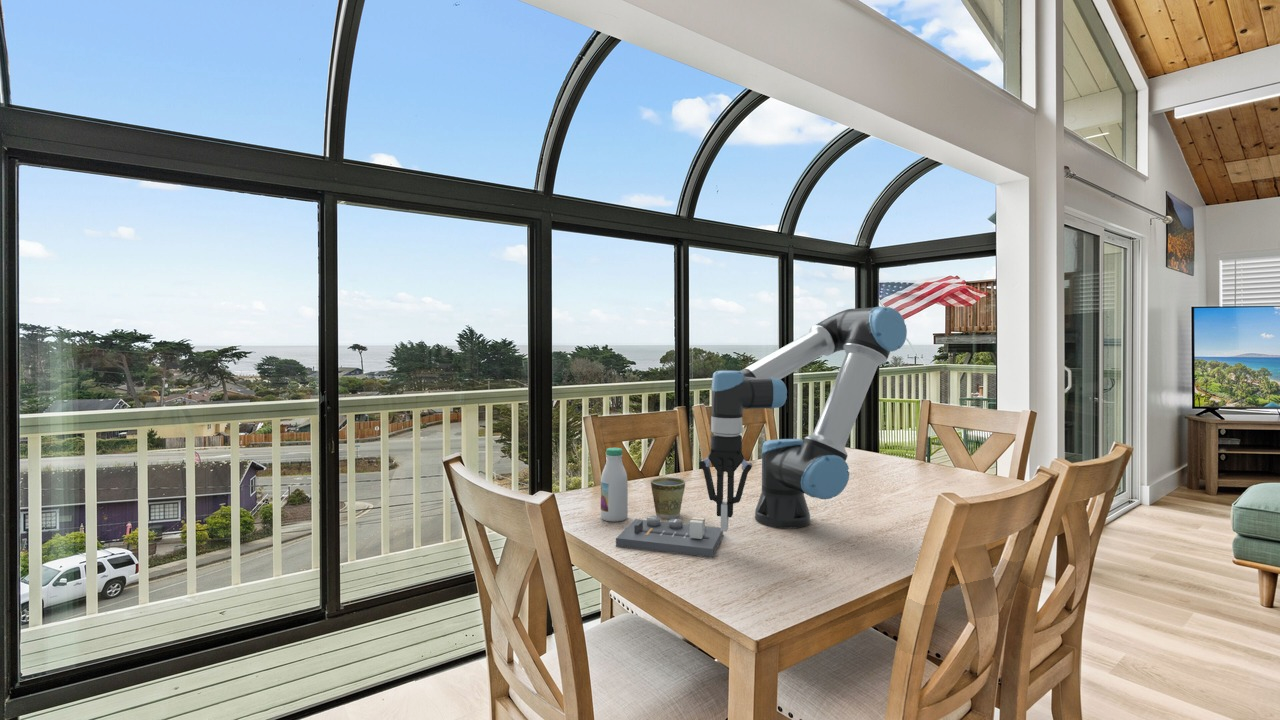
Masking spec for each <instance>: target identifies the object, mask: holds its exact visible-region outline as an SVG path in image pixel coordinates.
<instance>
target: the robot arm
mask: <svg viewBox="0 0 1280 720" xmlns="http://www.w3.org/2000/svg"><path fill="white" fill-rule="evenodd" d="M907 334H908V331H907V324H906V323H905V319H904V317H903V316H902V314H901V313H900V312H899V311H898V310H897V309H895V308H893V307H889V306H888V307H887V306H875V307H864V308H861V307H860V308H848V309H845V310H842V311H839V312H836V313H835V314H832V315H830V316H829V317H827V318H825V319H823V320H822V321H820V322H818V323H817V324H814V325H812V326H811V327H810V329H809V330H808V332H807V333H805V334H804V335H802V336H800V337H798V338H797V339H795V340H793V341H791V342H789V343H788V344H786V345H784V346H783V347H781V348H779V349H777V350H775V351H774V352H771V353H770V354H768V355H766V356H764V357H763V358H761V359H759V360H757V361H755V362H754V363H752V364H750V365H749V366H747V367H745V368H743V369H741V370H716V371H715V372H713V374H712V379H711V380H712V381H711V389H710V391H711V416H710V417H711V418H710V419H711V420H710V421H711V422H710V431H711V433H712V434H711V435H710V452H709V453H708V457H706V458H704V459H701V460H700V462H699V466H700V468H701V470H702V471H703V475H704V480H705V481H704V482H705V484H706V488H707V495H708V498H709V500H710V501H712V502H713V501H714V502H715V503H716V516H717V517H720V528H721V531H723V532H728V530H729V521H730V520H729V518H732V517H733V514H734V504H738V503H740V502H741V499H742V495H743V493H744V489H745V485H746V482H747V477H748V474H749V472H750V471H751V469H752V468H753V464H752V463H751V462H748V461H747V460H746V459H745V457H744V455H743V437H742V435H741V434H742V433H743V411H744V410H748V409H749V410H750V409H751V410H752V409H755V410H756V409H769V410H772V409H778V408H781V407H783V406H784V405H785V403H786V400H787V398H788V395H787V394H788V389H787V386H786V384H785V382H784V381H783V380H782V379H785V378H786V377H787V376H789V375H790V374H792V373H794V372H796V371H798V370H800V369H801V368H803V367H804V366H807V365H808V364H811V363H812V362H813V361H815V360H816V359H819V358H820V357H822V356H826V357H828V356H831V355H832V354H834V353H837V352H839V351H840V352H841V351H844V352H845V356H844V359H843V361H842V363H841V365H840V367H839V371H838V372H837V376H836V378H835V380H834V383H833V385H832V387H831V390H830V392H829V394H828V397H827V400H826V401H825V404H824V406H823V408H822V411H821V413H820V416H819V418H818V421H817V423H816V425H815V428H814V430H813V433H812V434H810V435H807V436H804V439H802V438H801V439H800V438H779V439H769V440H768V439H767V440H765V441H764V442H763V444H762V449H761V491H760V492H761V493H760V496H759V499H758V501H757V504H756V507H755V511H754V512H755V513H754V518H755V521H757V522H758V523H760V524H762V525H764V526H765V525H766V526H769V527H772V528H773V527H774V528H780V529H781V528H782V529H799V528H803V527H804V528H805V527H807V526H808V525H809V524H811V514H810V510H809V507H808V504H807V503H808V502H807V500H806V498H805V495H807V496H809V497H811V498H815V499H816V498H817V499H820V500H830V499H832V498H836V497H837V496H839V495H840V494H841V493H842V492H843V491H844V489H846V487H847V485H848V482H849V480H850V471H849V469H850V468H849V464H848V463H847V462H846V460H847V458H848V453H847V451H846V446H847V445H846V444H847V443H848V440H849V438H850V436H851V432H852V430H853V428H854V425H855V423H856V420H857V418H858V415H859V413H860V411H861V408H862V405H863V403H864V400H865V399H866V396H867V393H868V391H869V388H870V386H871V384H872V382H873V379H874V376H875V374H876V372H877V369H878V368H879V367H878V366H881V365H883V364H886V363H887V361H888V358H889V356H890V354H891V352H892V353H893V352H895V351H898V350H899V349H901V348H902V347H903V346H904V345H905V342H906V341H907ZM711 464H712V466H713V467H714V469H715V471H716V490H715V486H714V481H713V476H712V473H711V468H710V466H711ZM740 466H741V470H742V472H741V475H740V479H739V482H738V487H737V489H736V490H737V491H736V494H735V493H734V492H735V489H734V487H735V471H737V469H738V468H739V467H740ZM725 473H727V475H726V476H727V477H726V478H727V488H726V489H727V490H726V491H727V492H726V493H727V496H726V497H727V498H726V500H727V501H724V474H725ZM734 495H735V496H734Z"/></svg>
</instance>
